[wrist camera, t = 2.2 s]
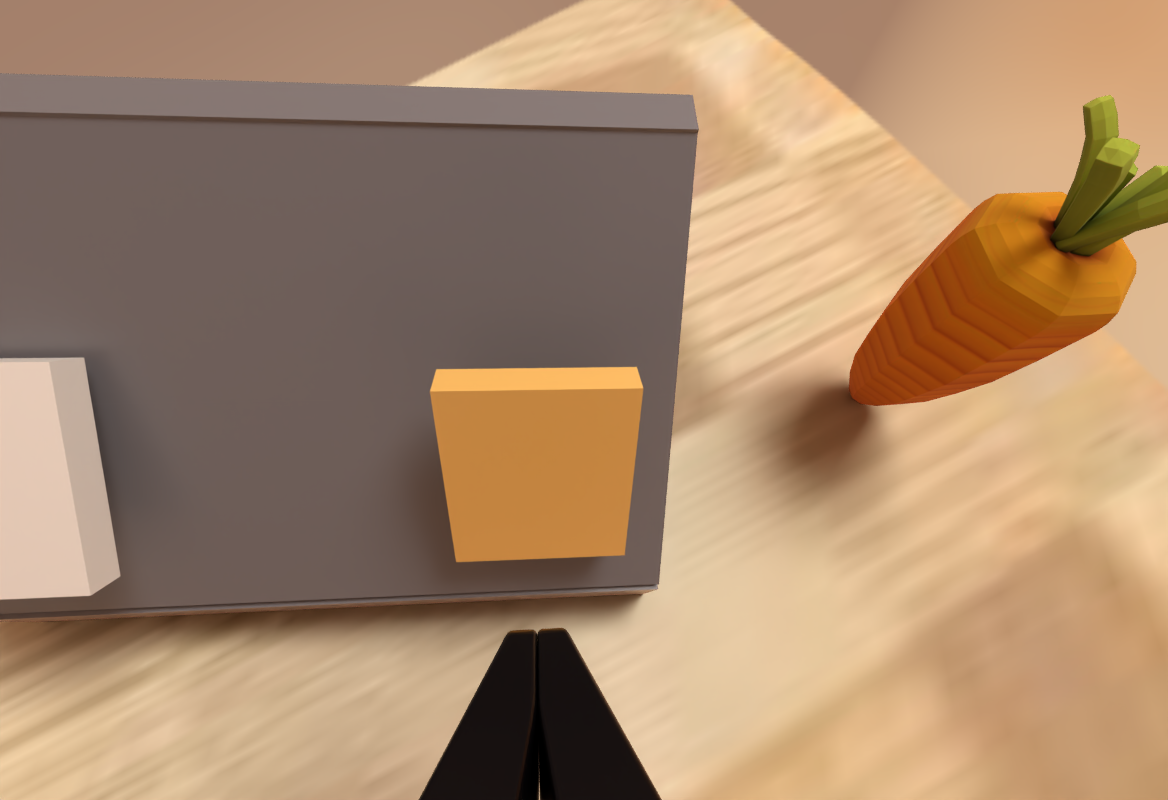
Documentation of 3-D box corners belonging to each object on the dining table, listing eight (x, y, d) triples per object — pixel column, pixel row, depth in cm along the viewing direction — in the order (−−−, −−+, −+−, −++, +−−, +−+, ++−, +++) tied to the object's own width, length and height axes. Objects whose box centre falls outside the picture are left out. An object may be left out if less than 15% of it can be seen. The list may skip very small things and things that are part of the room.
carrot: (798, 428, 24) (1127, 171, 11) (811, 337, 26) (1104, 21, 13) (905, 460, 24) (1385, 240, 10) (910, 366, 26) (1321, 77, 12)
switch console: (643, 593, 21) (773, 551, 9) (42, 621, 19) (-766, 614, 7) (622, 339, 26) (691, 87, 14) (131, 342, 24) (-285, 55, 12)
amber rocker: (621, 553, 17) (653, 573, 12) (459, 559, 16) (425, 583, 12) (614, 398, 18) (642, 359, 13) (461, 401, 17) (430, 361, 13)
